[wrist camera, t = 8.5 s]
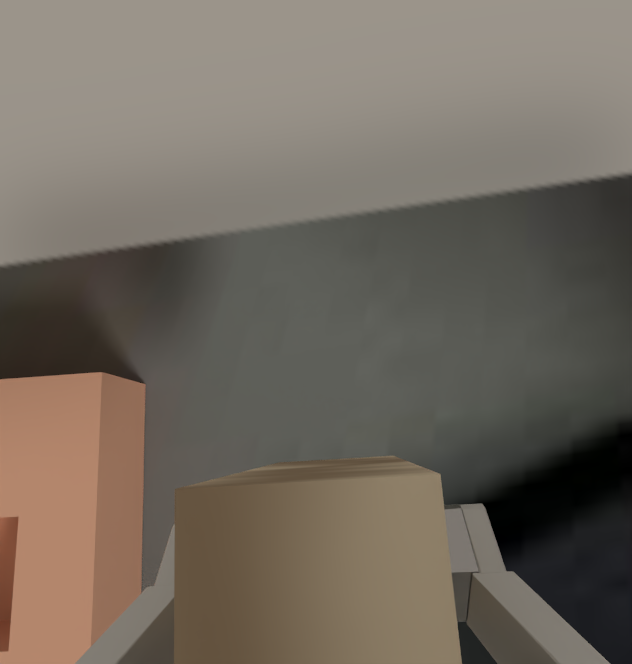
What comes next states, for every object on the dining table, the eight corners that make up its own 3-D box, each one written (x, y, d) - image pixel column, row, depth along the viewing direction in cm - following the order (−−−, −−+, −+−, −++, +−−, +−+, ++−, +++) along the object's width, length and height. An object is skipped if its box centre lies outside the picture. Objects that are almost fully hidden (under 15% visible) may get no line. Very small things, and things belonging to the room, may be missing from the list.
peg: (393, 456, 17) (440, 473, 7) (405, 581, 16) (477, 798, 6) (279, 462, 17) (175, 489, 7) (284, 586, 16) (172, 801, 6)
